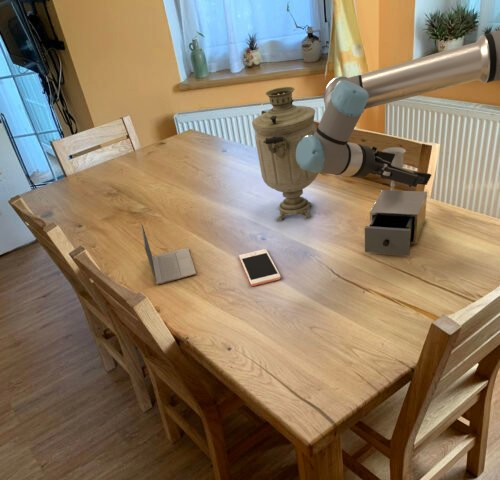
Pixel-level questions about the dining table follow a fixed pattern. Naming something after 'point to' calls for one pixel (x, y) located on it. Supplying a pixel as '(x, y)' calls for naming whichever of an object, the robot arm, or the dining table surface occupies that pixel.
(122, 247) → the dining table surface
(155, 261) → the laptop
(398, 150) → the chalice
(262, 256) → the cell phone
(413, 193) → the cabinet
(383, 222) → the drawer
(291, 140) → the samovar
